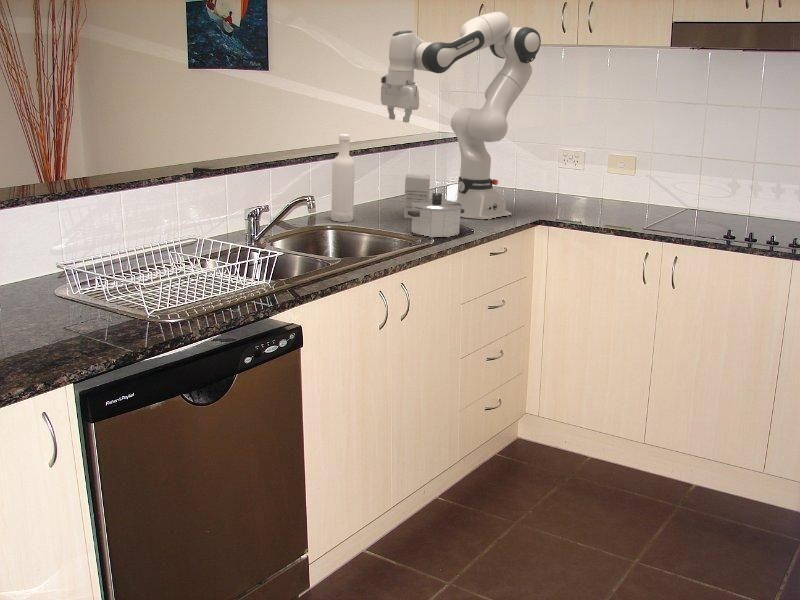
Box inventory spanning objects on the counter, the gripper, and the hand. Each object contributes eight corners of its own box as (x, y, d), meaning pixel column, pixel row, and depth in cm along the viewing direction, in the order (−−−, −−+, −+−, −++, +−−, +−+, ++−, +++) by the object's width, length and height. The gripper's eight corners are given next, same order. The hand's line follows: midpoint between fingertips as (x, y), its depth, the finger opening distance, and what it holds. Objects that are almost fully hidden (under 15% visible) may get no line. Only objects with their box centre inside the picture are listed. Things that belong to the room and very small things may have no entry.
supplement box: (403, 213, 329) (405, 173, 324) (427, 214, 329) (430, 174, 324) (403, 218, 320) (405, 177, 316) (427, 219, 320) (430, 178, 316)
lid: (443, 203, 309) (444, 188, 307) (471, 213, 295) (472, 196, 294) (401, 206, 300) (402, 190, 299) (428, 216, 287) (429, 199, 285)
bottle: (351, 217, 317) (353, 133, 308) (355, 222, 309) (358, 136, 300) (329, 217, 315) (331, 132, 306) (332, 222, 307) (334, 135, 299)
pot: (446, 225, 312) (448, 200, 309) (473, 235, 299) (475, 208, 296) (397, 229, 301) (398, 203, 299) (422, 239, 288) (424, 212, 286)
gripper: (424, 82, 295) (422, 124, 299) (393, 78, 312) (391, 117, 316) (408, 82, 292) (406, 124, 296) (378, 77, 308) (376, 117, 313)
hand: (398, 120), depth 306 cm, fingers open, 8 cm apart
